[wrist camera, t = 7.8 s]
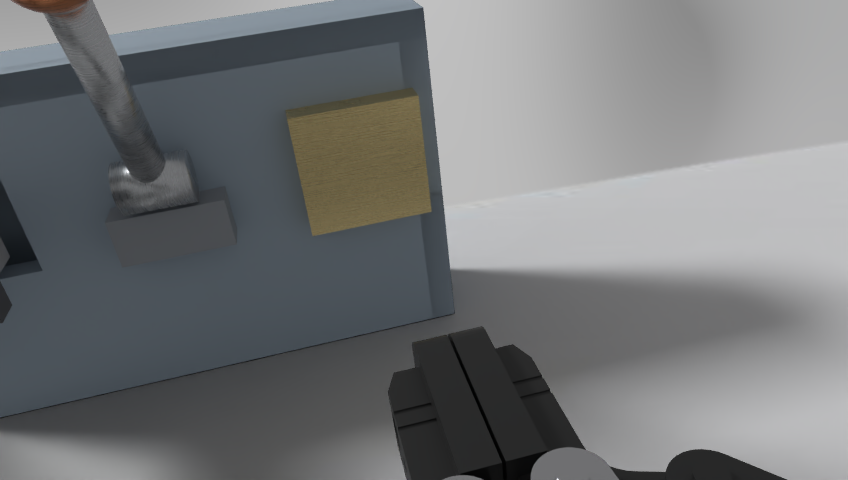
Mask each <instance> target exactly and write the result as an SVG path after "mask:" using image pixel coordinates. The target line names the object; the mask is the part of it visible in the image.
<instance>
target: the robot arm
mask: <svg viewBox="0 0 848 480" xmlns="http://www.w3.org/2000/svg"><path fill="white" fill-rule="evenodd" d="M412 348H413V355H414V362H415V368H412V369H408V370H404V371H400V372H396V373H394V374H393V377H392V381H391V384H390V388H389V391H388V394H389V400H390V405H391V411H392V416H393V422H394V427H395V432H396V438H397V443H398V448H399V452H400V456H401V460H402V463H403V467H404V471H405V475H406V479H407V480H786V479H784V478H782V477H779V476H777V475H774V474H772V473H769V472H767V471H764V470H762V469H760V468H757V467H755V466H752V465H750V464H747V463H745V462H743V461H740V460H738V459H735V458H733V457H730V456H728V455H725V454H723V453H720V452H716V451H712V450H704V449H698V450H690V451H686V452H683V453H681V454H679V455H677V456H676V457H674V458H673V459H672V460H671V462H670V463H669V464H668V467H667V469H666V472H638V471H625V470H620V469H616V468H613V467H610V466H609V465H608V464H607V463H606V462H605V461H604V460H603V459H602V458H601V457H599V456H597V455H596V454H594V453H592V452H590V451H587V450H586V449H585V448H584V446H583V445H582V443H581V441H580V440H579V438H578V436H577V435H576V433H575V431H574V429H573V428H572V426H571V424H570V423H569V421H568V419H567V418H566V416H565V414H564V412H563V411H562V409H561V407H560V406H559V404H558V402H557V401H556V399H555V397H554V395H553V394H552V393H551V392H550V389H549V387H548V385H547V383H546V382H545V380H544V379H542V375H541V373H540V372H539V370H538V368H537V366H536V365H535V363H534V361H533V360H532V358H531V357H530V356H528V355H527V354H526V353H524V352H523V351H521V350H520V349H518V348H517V347H516V346H514V345H508V346H504V347H500V348H496V349H495V348H494V346H493V344H492V342H491V340H490V338H489V336H488V334H487V332H486V331H485V329H484V328H483V327H477V328H473V329H469V330H464V331H460V332H456V333H451V334H448V336H447V335H443V336H439V337H435V338H431V339H426V340H422V341H418V342H413V343H412Z"/></svg>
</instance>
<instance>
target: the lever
mask: <svg viewBox="0 0 848 480" xmlns="http://www.w3.org/2000/svg"><path fill="white" fill-rule="evenodd" d="M11 1H13V2H14V3H16V4H18V5H20V6H22V7H24V8H27V9H29V10H32V11H36V12H42V13H44V15H45V17H46V19H47V21H48V23H49V25H50V27H51V28H52V30H53V32H54V34H55V36H56V38H57V39H58V41H59V43H60V45H61V47H62V49H63V51H64V53H65V54H66V56H67V58H68V60H69V62H70V64H71V66H72V68H73V69H74V71H75V73H76V75H77V77H78V79H79V81H80V82H81V84H82V86H83V88H84V90H85V92H86V94H87V95H88V97H89V99H90V101H91V103H92V105H93V107H94V109H95V110H96V112H97V114H98V116H99V118H100V120H101V122H102V123H103V125H104V127H105V129H106V131H107V133H108V135H109V137H110V138H111V140H112V142H113V144H114V146H115V148H116V150H117V151H118V153H119V155H120V157H121V159H122V161H118V162H113V163H110V164H109V168H108V177H109V184H110V189H111V193H112V196H113V199H114V202H115V204H116V206H117V208H118V210H119V212H120V213H121V214H122V215H123V216H127V215H132V214H137V213H143V212H148V211H153V210H158V209H163V208H169V207H174V206H179V205H184V204H189V203H194V202H199V187H198V181H197V176H196V172H195V168H194V165H193V162H192V159H191V157H190V154H189V152H188V151H187V150H186V149H185V150H179V151H173V152H168V153H162V151H161V148H160V146H159V144H158V142H157V140H156V138H155V135H154V133H153V131H152V129H151V127H150V124H149V122H148V120H147V118H146V116H145V114H144V111H143V109H142V107H141V105H140V103H139V100H138V98H137V96H136V94H135V92H134V90H133V87H132V85H131V83H130V81H129V79H128V76H127V74H126V72H125V70H124V68H123V66H122V63H121V61H120V59H119V57H118V55H117V52H116V50H115V48H114V46H113V44H112V42H111V39H110V37H109V35H108V33H107V31H106V28H105V26H104V24H103V22H102V20H101V18H100V16H99V14H98V11H97V9H96V7H95V5H94V3H93V0H11Z"/></svg>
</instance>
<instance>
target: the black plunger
mask: <svg viewBox="0 0 848 480" xmlns="http://www.w3.org/2000/svg"><path fill="white" fill-rule="evenodd" d="M9 258H10V255H9V253H8V251H7V249H6V247H5V245H4V243H3V241H2V239H1V237H0V272H1V271H2V269H3V268H4V266H5V264H6V263H7V261H8V259H9ZM11 307H12V303H11V301H10V299H9V297H8V295H7V293H6V291H5V289H4V288H3V286H2V284H1V282H0V323H3V322H4V320H5V318H6V316H7V314H8V312H9V311H10V309H11Z"/></svg>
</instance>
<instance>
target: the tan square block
mask: <svg viewBox="0 0 848 480" xmlns="http://www.w3.org/2000/svg"><path fill="white" fill-rule="evenodd" d="M285 111H286V117H287V122H288V126H289V131H290V135H291V140H292V145H293V149H294V154H295V158H296V163H297V167H298V172H299V177H300V181H301V186H302V190H303V195H304V199H305V204H306V209H307V213H308V218H309V222H310V227H311V232H312V236H316V235H321V234H326V233H331V232H336V231H340V230H345V229H350V228H355V227H360V226H365V225H370V224H375V223H379V222H384V221H389V220H394V219H399V218H404V217H409V216H414V215H418V214H423V213H428V212H432V210H431V201H430V192H429V184H428V175H427V166H426V157H425V148H424V140H423V131H422V122H421V113H420V104H419V96H418V94H417V93H416V92H415V90H414V89H413V88H408V89H402V90H396V91H391V92H385V93H379V94H374V95H368V96H362V97H357V98H351V99H345V100H340V101H334V102H328V103H323V104H317V105H311V106H306V107H300V108H294V109H289V110H285Z"/></svg>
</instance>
